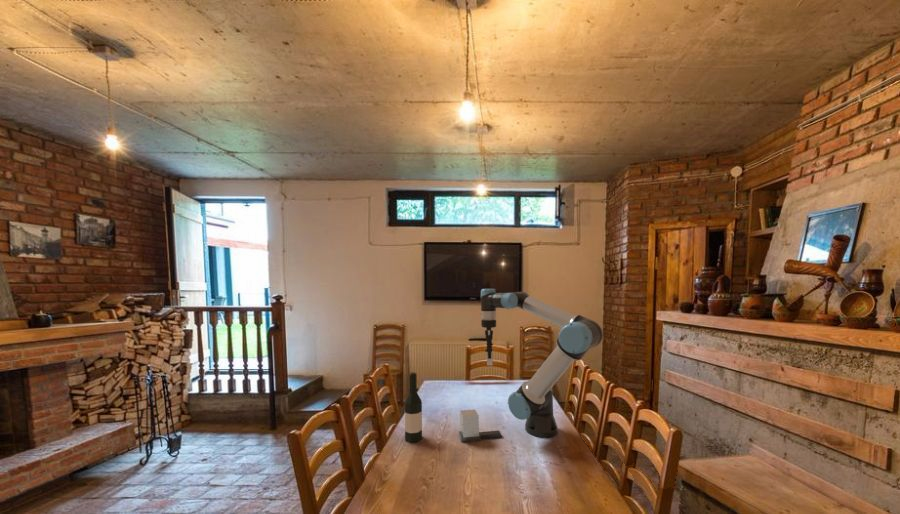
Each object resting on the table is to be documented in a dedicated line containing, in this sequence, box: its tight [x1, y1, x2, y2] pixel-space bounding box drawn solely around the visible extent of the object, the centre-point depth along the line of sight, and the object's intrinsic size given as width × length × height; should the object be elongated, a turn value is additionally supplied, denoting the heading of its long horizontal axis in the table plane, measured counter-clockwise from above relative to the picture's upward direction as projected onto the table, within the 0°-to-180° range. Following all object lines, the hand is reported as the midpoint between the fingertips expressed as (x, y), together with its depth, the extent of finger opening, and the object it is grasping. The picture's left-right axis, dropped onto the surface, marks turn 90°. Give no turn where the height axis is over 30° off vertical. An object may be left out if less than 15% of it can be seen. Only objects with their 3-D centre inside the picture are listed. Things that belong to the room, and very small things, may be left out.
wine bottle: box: [404, 371, 423, 444], centre depth 153 cm, size 8×8×30 cm
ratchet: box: [458, 429, 502, 443], centre depth 151 cm, size 19×5×6 cm, turn 99°
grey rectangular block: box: [459, 409, 480, 437], centre depth 151 cm, size 7×7×9 cm
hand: (489, 361), depth 165 cm, fingers open, 13 cm apart
